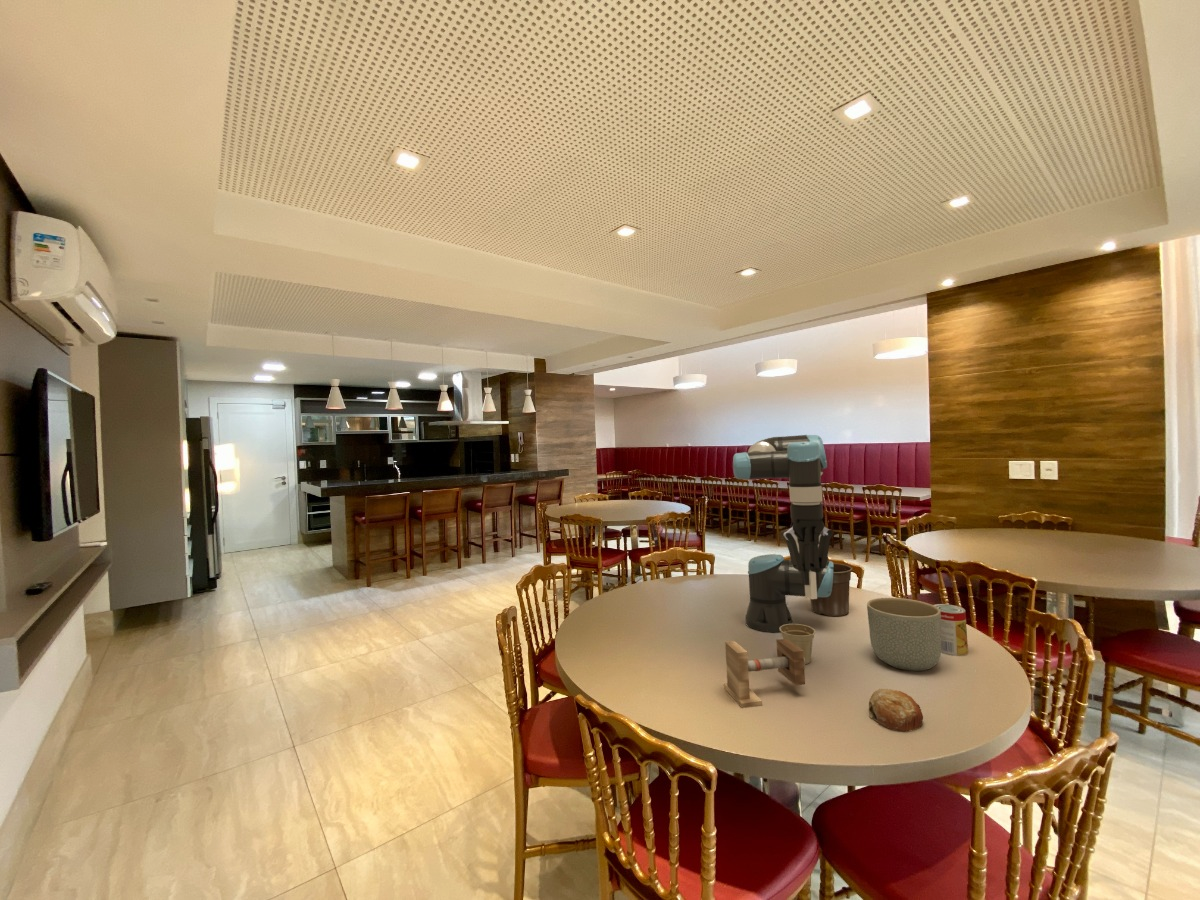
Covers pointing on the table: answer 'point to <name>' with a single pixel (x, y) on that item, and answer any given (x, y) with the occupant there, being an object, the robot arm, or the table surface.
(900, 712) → the bread roll
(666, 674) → the table surface
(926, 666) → the planter
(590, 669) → the table surface
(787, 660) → the rail stand
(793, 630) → the flower pot
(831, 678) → the table surface
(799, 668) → the collar
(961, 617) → the canned food
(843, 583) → the plant pot
